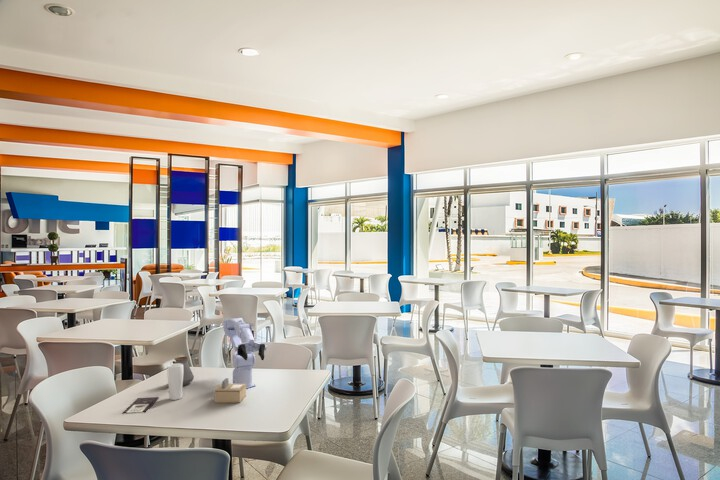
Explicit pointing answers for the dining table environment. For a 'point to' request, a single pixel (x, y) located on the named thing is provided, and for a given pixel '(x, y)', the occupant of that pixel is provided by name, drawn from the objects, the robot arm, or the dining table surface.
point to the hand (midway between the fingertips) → (254, 358)
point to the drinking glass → (175, 380)
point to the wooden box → (230, 396)
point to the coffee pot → (185, 370)
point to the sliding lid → (229, 386)
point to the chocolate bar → (141, 405)
